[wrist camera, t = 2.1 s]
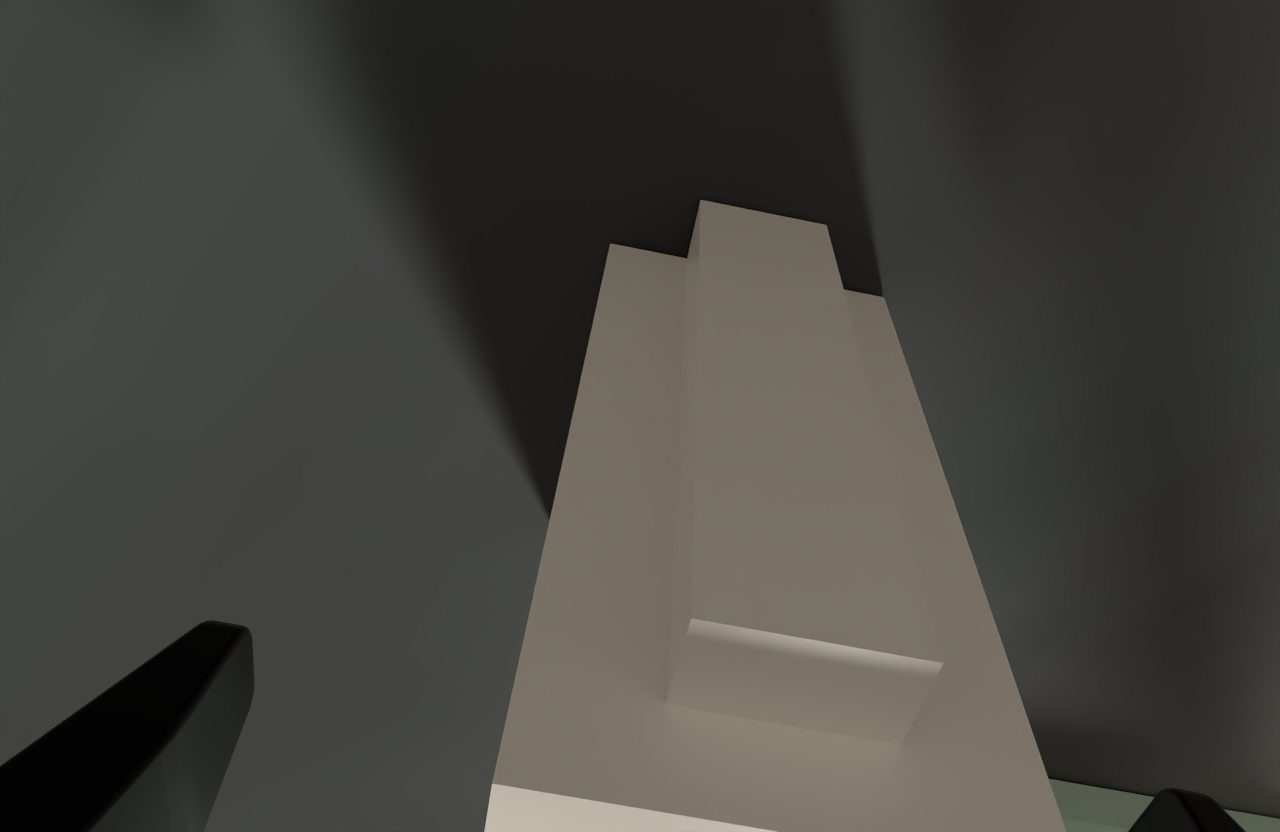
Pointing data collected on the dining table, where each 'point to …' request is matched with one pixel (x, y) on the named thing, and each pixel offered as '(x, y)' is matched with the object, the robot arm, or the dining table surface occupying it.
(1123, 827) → the circuit board
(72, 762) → the robot arm
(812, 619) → the keyed plug
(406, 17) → the dining table surface
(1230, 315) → the dining table surface
